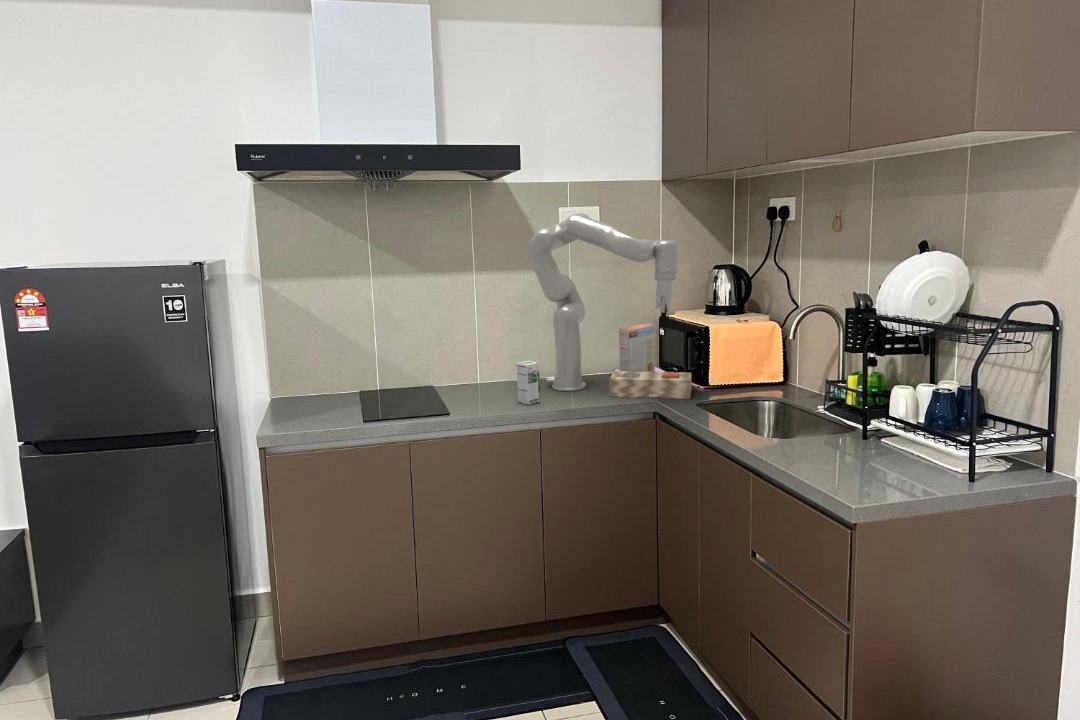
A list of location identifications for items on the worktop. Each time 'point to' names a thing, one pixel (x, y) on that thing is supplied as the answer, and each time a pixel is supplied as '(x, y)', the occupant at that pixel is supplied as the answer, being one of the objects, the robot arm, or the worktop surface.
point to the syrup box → (528, 381)
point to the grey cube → (631, 375)
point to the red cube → (671, 375)
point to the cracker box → (637, 348)
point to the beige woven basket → (650, 385)
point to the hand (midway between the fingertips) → (663, 327)
